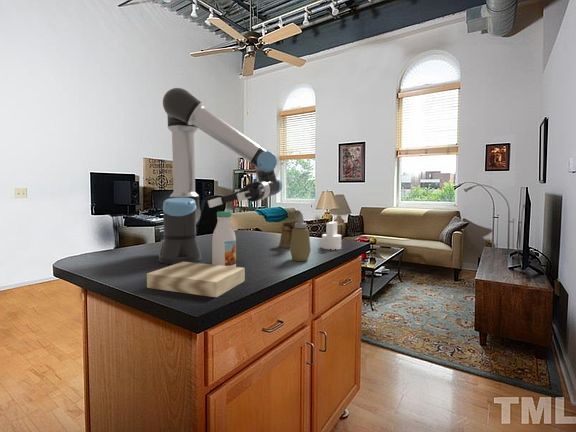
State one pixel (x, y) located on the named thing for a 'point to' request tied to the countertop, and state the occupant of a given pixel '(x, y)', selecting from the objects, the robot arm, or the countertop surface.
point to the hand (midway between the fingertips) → (223, 201)
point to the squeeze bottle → (300, 241)
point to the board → (196, 278)
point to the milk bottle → (224, 241)
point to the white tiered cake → (331, 237)
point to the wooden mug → (288, 230)
